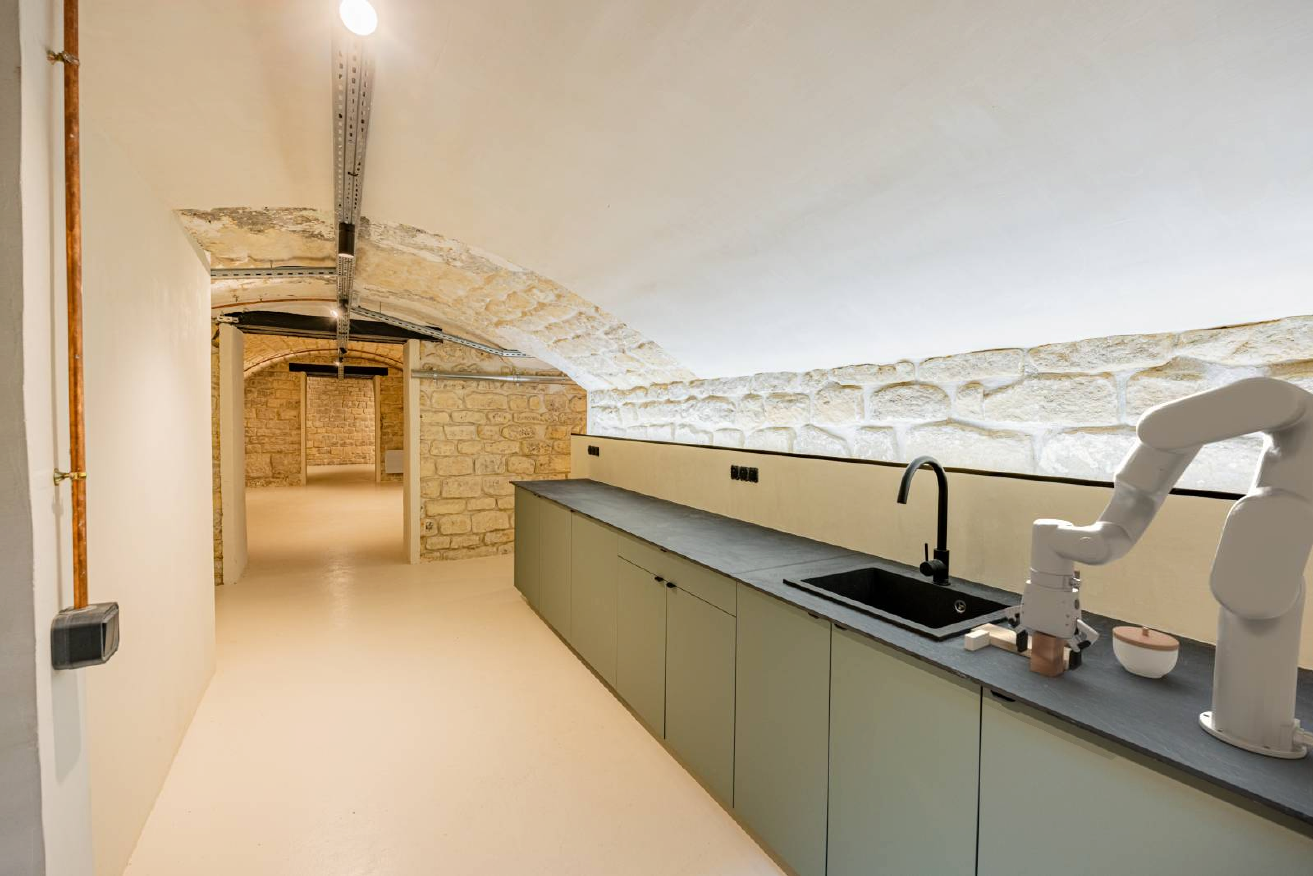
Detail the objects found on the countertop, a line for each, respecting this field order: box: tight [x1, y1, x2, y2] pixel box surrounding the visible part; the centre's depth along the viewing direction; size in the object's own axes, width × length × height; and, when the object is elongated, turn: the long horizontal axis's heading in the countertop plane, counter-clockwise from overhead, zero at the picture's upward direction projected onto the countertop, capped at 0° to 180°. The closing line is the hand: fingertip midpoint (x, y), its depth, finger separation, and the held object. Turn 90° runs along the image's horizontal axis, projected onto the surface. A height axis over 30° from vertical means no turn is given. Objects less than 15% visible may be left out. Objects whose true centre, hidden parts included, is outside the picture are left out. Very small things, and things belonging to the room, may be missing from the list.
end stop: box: [963, 629, 990, 652], centre depth 133 cm, size 2×7×3 cm, turn 123°
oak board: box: [970, 622, 1083, 670], centre depth 132 cm, size 20×8×2 cm, turn 33°
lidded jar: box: [1112, 625, 1180, 679], centre depth 121 cm, size 11×11×9 cm
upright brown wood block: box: [1030, 630, 1068, 678], centre depth 123 cm, size 4×14×8 cm, turn 123°
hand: (1047, 659), depth 121 cm, fingers open, 9 cm apart
